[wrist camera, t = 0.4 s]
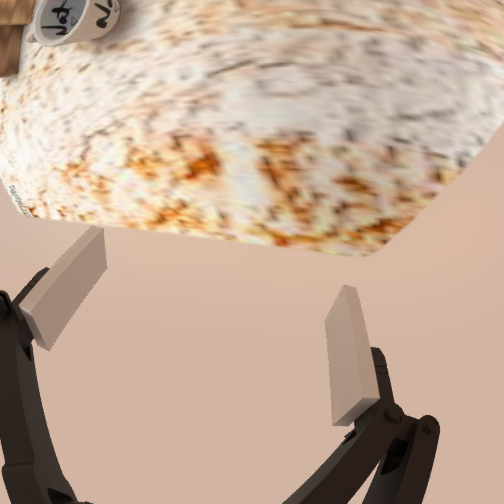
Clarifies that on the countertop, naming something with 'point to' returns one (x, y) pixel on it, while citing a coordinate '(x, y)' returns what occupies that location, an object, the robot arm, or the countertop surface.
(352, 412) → the robot arm
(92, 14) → the mug
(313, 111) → the countertop surface
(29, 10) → the wooden arch block
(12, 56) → the brown wooden block
